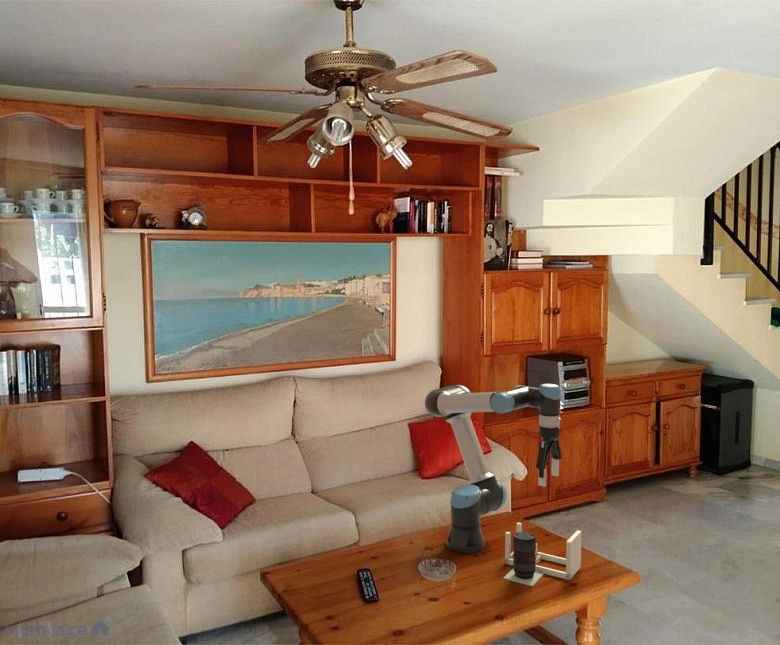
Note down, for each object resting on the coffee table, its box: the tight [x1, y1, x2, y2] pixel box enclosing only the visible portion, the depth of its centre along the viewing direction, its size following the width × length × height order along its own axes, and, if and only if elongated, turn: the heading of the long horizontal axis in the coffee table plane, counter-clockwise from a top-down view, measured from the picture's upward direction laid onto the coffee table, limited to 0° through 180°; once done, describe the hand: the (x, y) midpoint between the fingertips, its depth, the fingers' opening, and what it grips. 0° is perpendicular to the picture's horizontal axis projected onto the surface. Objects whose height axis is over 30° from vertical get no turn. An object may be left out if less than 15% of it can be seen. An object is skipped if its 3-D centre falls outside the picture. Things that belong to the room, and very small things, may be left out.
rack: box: [504, 522, 582, 581], centre depth 260 cm, size 25×12×14 cm, turn 57°
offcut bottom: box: [536, 555, 542, 565], centre depth 264 cm, size 8×8×2 cm
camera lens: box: [512, 531, 537, 579], centre depth 252 cm, size 8×8×15 cm
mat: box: [503, 567, 545, 587], centre depth 252 cm, size 11×11×1 cm
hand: (548, 480), depth 264 cm, fingers open, 13 cm apart
